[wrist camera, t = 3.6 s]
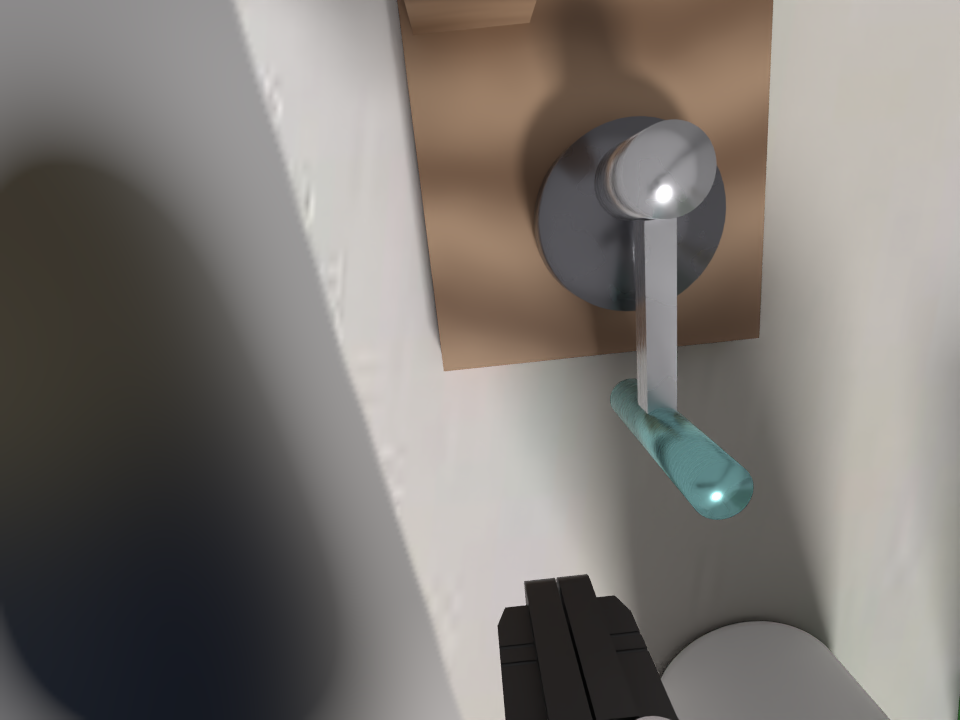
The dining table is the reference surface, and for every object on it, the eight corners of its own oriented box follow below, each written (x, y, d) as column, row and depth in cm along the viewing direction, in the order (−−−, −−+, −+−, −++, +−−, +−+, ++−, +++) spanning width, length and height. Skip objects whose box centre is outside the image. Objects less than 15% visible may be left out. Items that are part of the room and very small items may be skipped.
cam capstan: (526, 135, 22) (574, 63, 13) (705, 116, 22) (890, 30, 13) (547, 418, 26) (597, 532, 16) (702, 402, 26) (845, 506, 16)
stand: (396, -36, 22) (359, -175, 15) (750, -73, 22) (900, -232, 15) (445, 361, 27) (437, 413, 19) (738, 330, 27) (847, 370, 19)
